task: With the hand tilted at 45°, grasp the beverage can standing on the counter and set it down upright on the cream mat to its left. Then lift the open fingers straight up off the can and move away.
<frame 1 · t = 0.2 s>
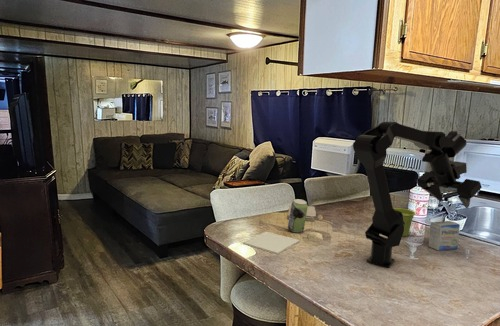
hand: (453, 203, 114), 15 cm above the countertop, tool tilted 35°, fingers open, 9 cm apart
beverage can: (297, 231, 129), on the countertop
plant pot: (399, 234, 128), on the countertop
medicine box: (442, 248, 115), on the countertop
cream mat: (271, 242, 117), on the countertop
washcloth: (301, 216, 150), on the countertop
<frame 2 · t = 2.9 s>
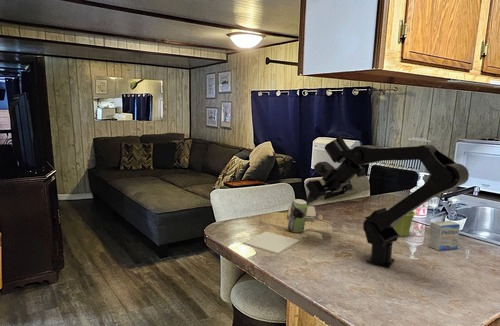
hand: (315, 200, 121), 14 cm above the countertop, tool tilted 45°, fingers open, 9 cm apart
nothing on the countertop moved.
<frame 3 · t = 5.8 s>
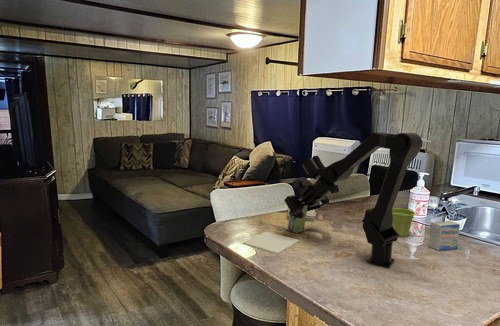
hand: (295, 213, 129), 7 cm above the countertop, tool tilted 45°, fingers closed on beverage can, 6 cm apart
beverage can: (297, 231, 129), on the countertop, touching gripper
everything else where it was.
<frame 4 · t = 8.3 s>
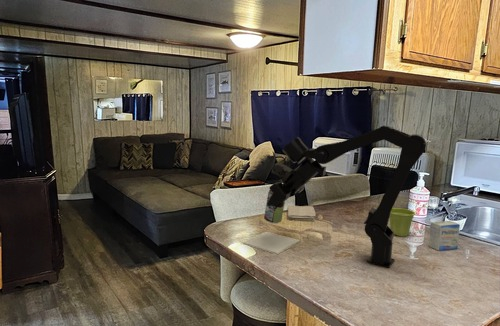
hand: (271, 203, 117), 13 cm above the countertop, tool tilted 45°, fingers closed on beverage can, 6 cm apart
beverage can: (274, 222, 117), point 6 cm above the countertop, touching gripper
everything else where it was.
when the fingers open (7 cm above the countertop, at t = 11.0 s): beverage can stays where it is, resting on cream mat.
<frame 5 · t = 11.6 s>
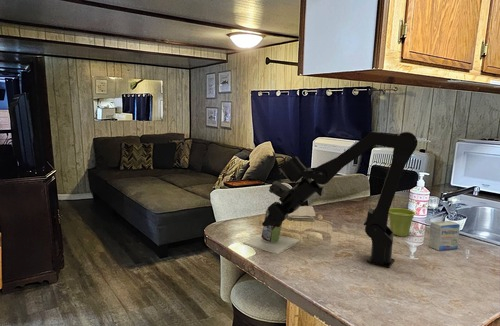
hand: (268, 221, 116), 7 cm above the countertop, tool tilted 45°, fingers open, 9 cm apart
beverage can: (271, 241, 117), resting on cream mat
everything else where it was.
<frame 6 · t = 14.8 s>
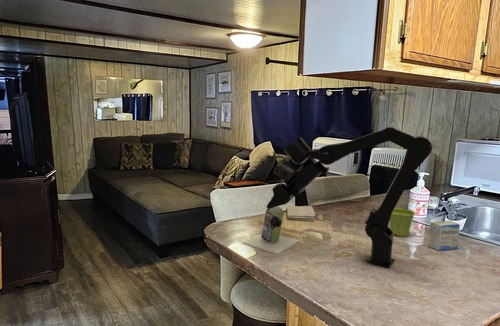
hand: (272, 204, 115), 13 cm above the countertop, tool tilted 45°, fingers open, 9 cm apart
nothing on the countertop moved.
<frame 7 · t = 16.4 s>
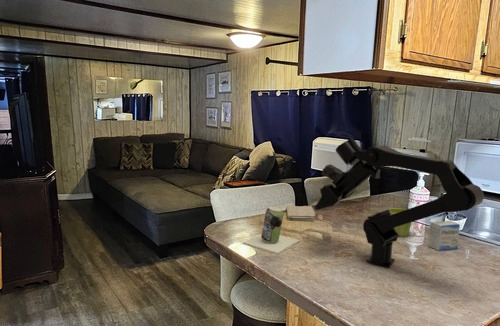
hand: (321, 205, 114), 13 cm above the countertop, tool tilted 45°, fingers open, 9 cm apart
nothing on the countertop moved.
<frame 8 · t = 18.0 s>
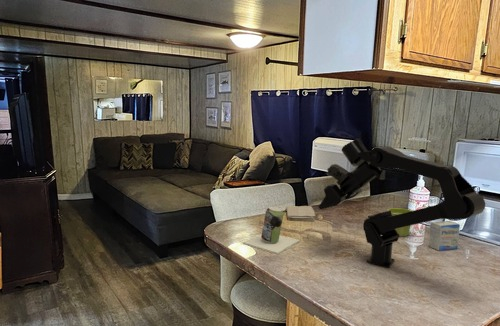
hand: (325, 205, 114), 14 cm above the countertop, tool tilted 45°, fingers open, 9 cm apart
nothing on the countertop moved.
at the end: beverage can inside the target area on the cream mat (0.2 cm from its centre), point 0.3 cm above the cream mat's base; beverage can tilted 0°; the gripper is holding nothing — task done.
